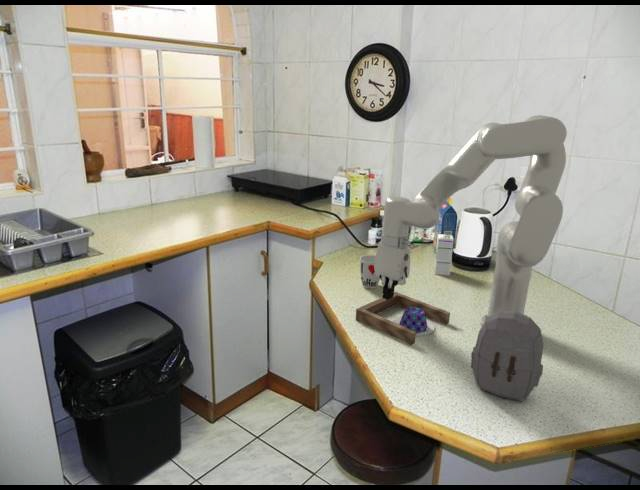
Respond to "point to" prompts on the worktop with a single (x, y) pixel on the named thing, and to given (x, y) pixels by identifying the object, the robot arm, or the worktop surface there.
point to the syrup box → (443, 254)
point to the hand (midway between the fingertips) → (387, 297)
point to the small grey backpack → (508, 355)
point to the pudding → (415, 321)
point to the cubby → (370, 318)
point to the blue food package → (445, 222)
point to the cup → (368, 271)
